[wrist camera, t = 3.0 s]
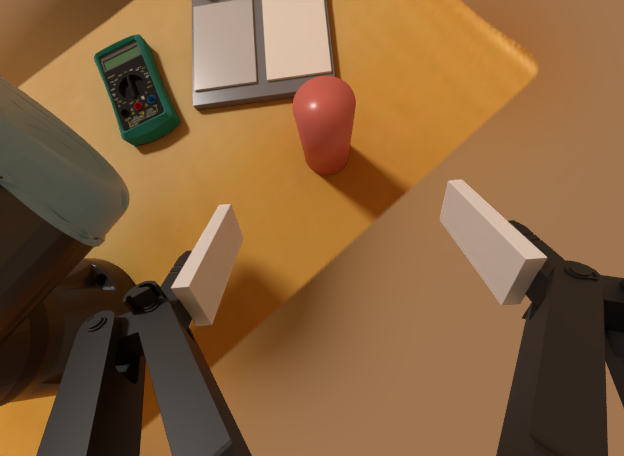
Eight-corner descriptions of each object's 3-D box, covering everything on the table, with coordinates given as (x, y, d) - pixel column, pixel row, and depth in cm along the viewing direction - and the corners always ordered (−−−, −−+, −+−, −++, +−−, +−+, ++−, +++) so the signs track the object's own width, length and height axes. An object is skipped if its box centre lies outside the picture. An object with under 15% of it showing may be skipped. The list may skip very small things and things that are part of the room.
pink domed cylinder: (307, 177, 32) (295, 137, 22) (303, 136, 32) (290, 80, 22) (350, 172, 31) (359, 129, 21) (346, 131, 32) (352, 71, 22)
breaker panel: (197, 110, 34) (186, 97, 32) (195, -7, 37) (185, -27, 35) (335, 91, 33) (336, 76, 30) (322, -29, 36) (322, -51, 33)
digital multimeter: (137, 152, 35) (119, 141, 32) (106, 67, 37) (87, 51, 34) (185, 129, 35) (171, 116, 32) (151, 46, 37) (135, 27, 34)
